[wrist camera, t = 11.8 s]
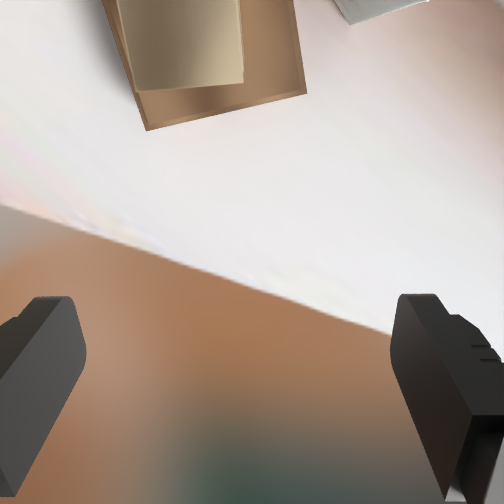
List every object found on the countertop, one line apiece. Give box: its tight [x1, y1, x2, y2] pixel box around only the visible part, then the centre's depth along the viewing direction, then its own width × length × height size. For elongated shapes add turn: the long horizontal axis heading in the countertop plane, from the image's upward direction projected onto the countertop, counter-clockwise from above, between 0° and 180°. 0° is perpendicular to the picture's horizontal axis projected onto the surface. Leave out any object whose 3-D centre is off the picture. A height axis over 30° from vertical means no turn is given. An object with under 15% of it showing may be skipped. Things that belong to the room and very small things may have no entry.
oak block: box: [117, 0, 244, 92], centre depth 22 cm, size 5×5×10 cm
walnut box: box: [102, 0, 307, 131], centre depth 29 cm, size 12×12×5 cm
